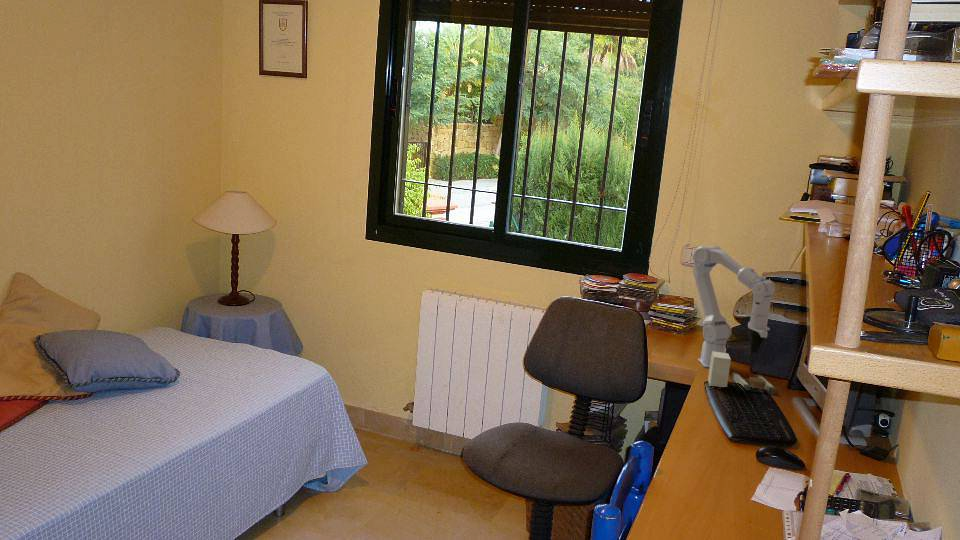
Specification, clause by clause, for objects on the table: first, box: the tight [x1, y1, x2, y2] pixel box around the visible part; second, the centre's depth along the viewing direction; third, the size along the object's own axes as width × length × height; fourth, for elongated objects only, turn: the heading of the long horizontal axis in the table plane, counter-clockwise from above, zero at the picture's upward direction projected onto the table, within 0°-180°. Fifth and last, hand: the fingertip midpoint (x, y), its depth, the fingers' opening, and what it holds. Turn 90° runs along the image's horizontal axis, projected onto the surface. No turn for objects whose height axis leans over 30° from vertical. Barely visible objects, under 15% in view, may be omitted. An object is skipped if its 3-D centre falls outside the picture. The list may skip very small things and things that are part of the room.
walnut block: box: [748, 376, 766, 391], centre depth 269 cm, size 4×4×4 cm
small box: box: [707, 351, 732, 388], centre depth 269 cm, size 8×6×10 cm
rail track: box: [731, 372, 777, 396], centre depth 272 cm, size 15×10×2 cm, turn 0°
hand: (753, 352), depth 280 cm, fingers closed
